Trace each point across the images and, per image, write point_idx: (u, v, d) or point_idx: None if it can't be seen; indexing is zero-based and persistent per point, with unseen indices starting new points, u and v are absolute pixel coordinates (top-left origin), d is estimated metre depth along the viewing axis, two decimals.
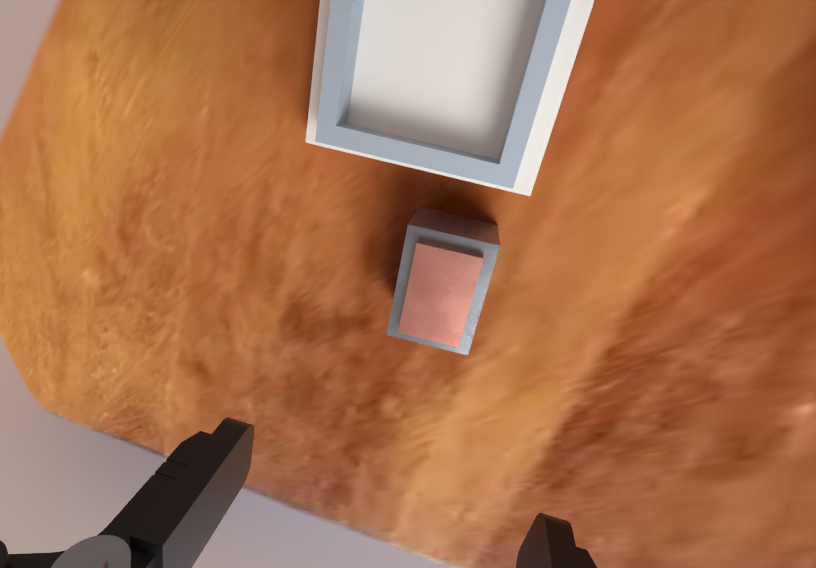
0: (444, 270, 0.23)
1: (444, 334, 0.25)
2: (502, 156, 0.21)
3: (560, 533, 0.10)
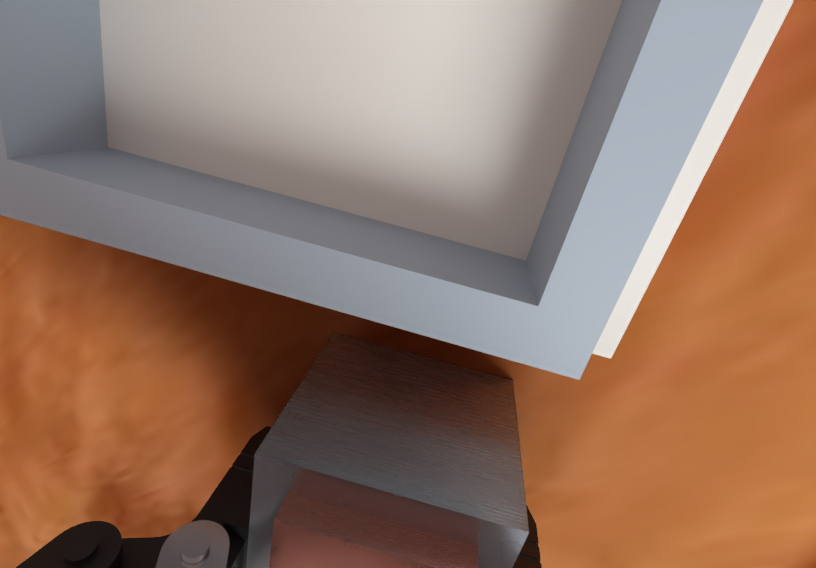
0: None
1: None
2: (550, 282, 0.06)
3: None
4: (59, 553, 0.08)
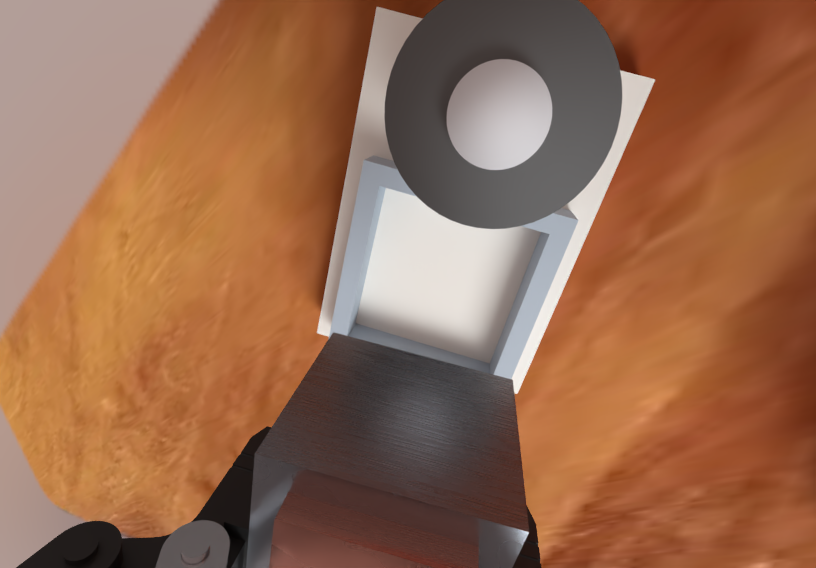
0: None
1: None
2: None
3: None
4: (59, 553, 0.08)
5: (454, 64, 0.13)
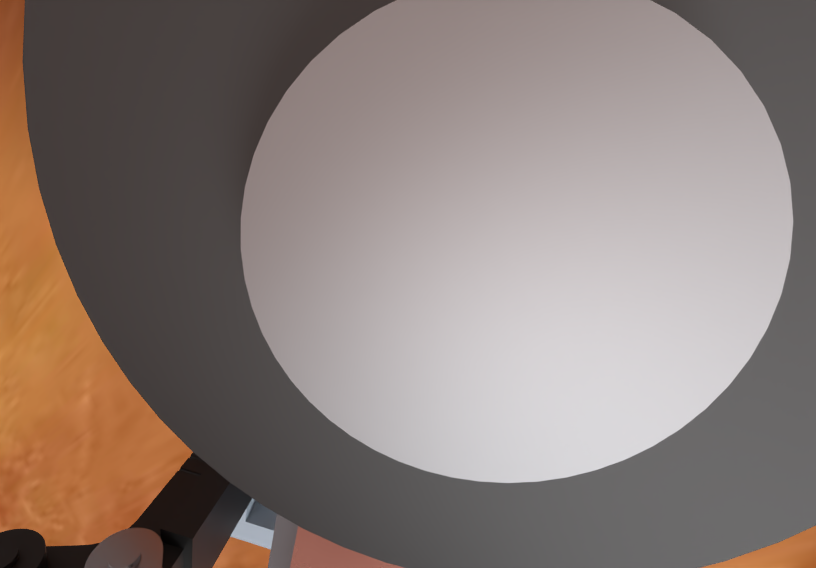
0: None
1: None
2: None
3: None
4: None
5: (277, 25, 0.03)
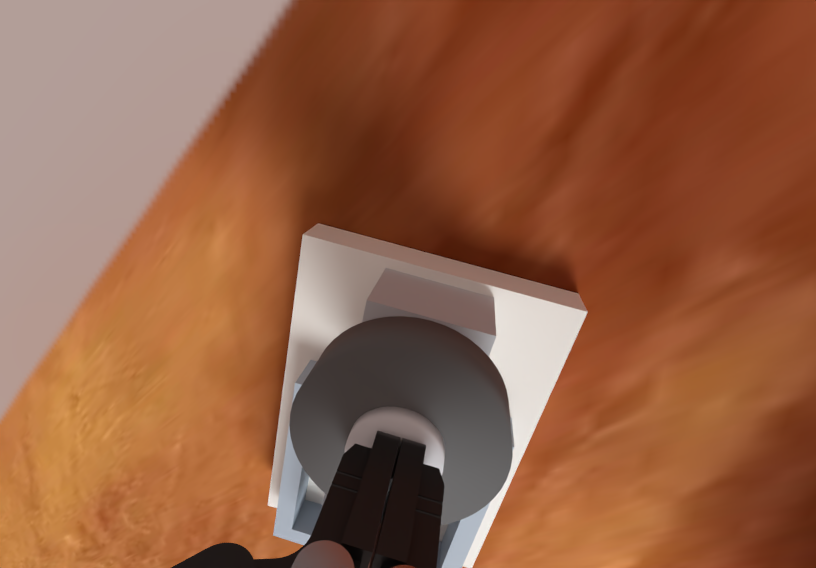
0: None
1: None
2: None
3: (412, 452, 0.12)
4: None
5: (351, 404, 0.13)
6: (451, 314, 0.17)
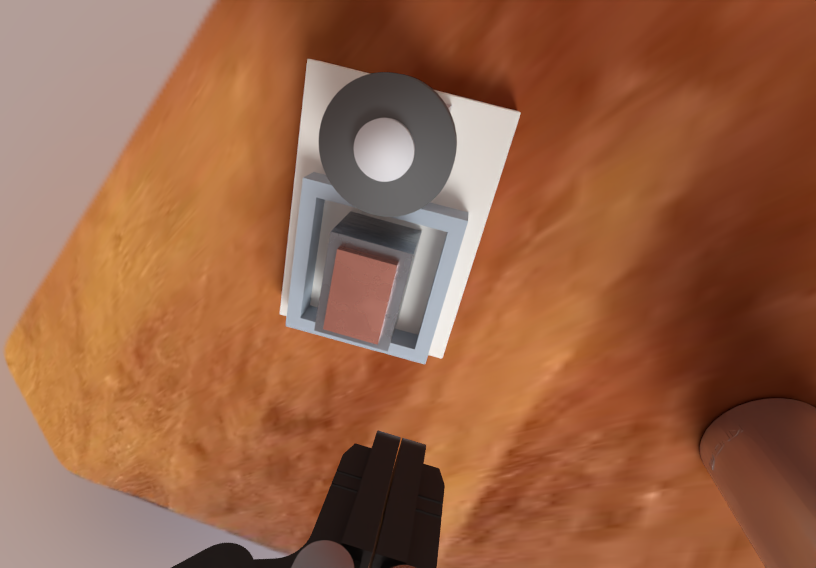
0: (363, 275, 0.25)
1: (364, 332, 0.27)
2: (416, 344, 0.31)
3: (412, 452, 0.12)
4: None
5: (357, 119, 0.21)
6: None
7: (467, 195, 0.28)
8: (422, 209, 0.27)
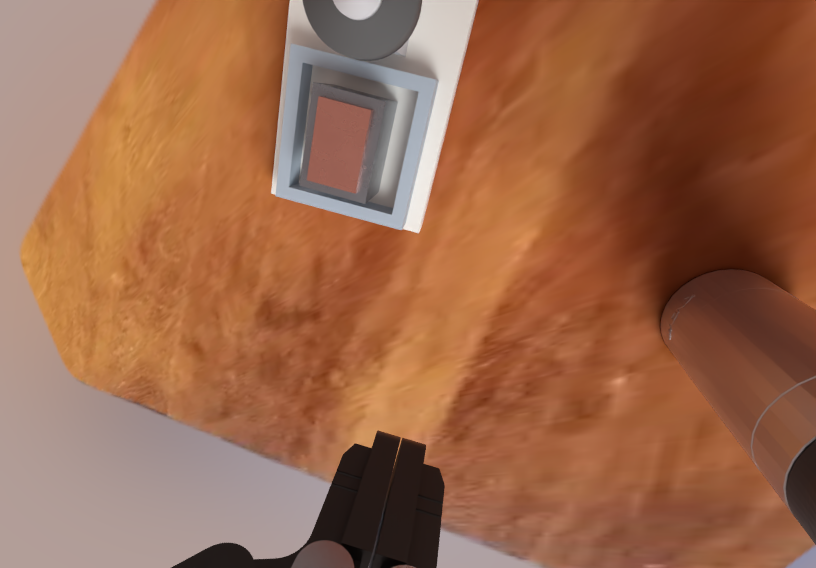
0: (341, 121, 0.29)
1: (343, 181, 0.30)
2: (393, 210, 0.34)
3: (412, 452, 0.12)
4: None
5: None
6: None
7: (437, 63, 0.31)
8: (396, 70, 0.30)
